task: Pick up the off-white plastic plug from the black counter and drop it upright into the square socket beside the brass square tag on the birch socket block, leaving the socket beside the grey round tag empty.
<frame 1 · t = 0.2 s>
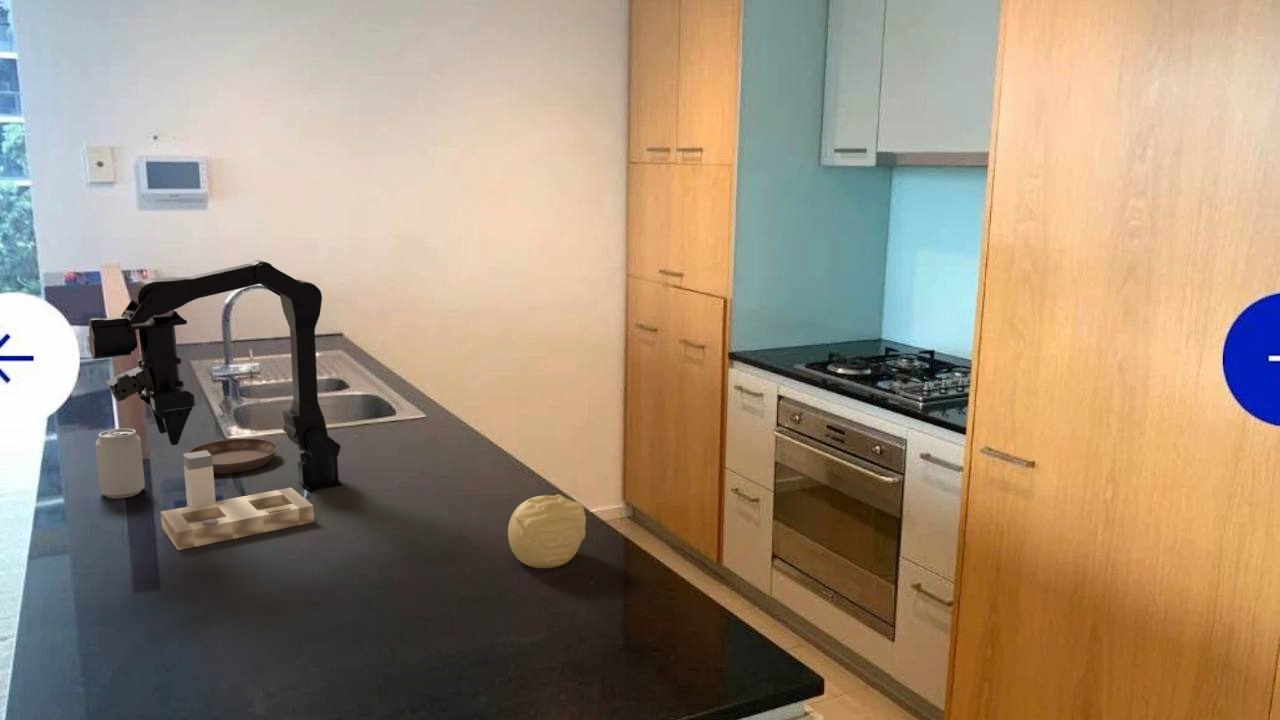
hand: (168, 438, 174), 13 cm above the worktop, fingers open, 9 cm apart
socket block: (238, 525, 170), on the worktop
plant saucer: (233, 464, 205), on the worktop
plug: (201, 507, 179), on the worktop
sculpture: (546, 561, 156), on the worktop
can: (123, 494, 186), on the worktop
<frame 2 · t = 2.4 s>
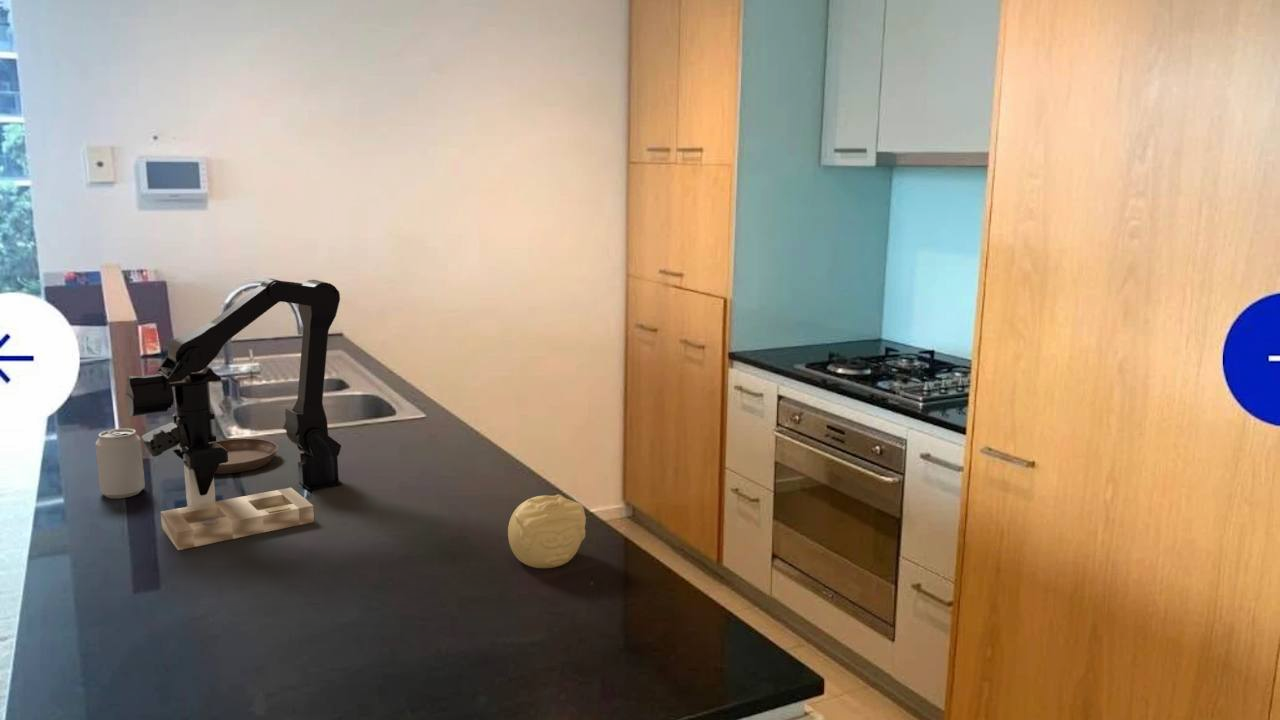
hand: (200, 491, 178), 3 cm above the worktop, fingers closed on plug, 4 cm apart
plug: (201, 507, 179), on the worktop, touching gripper
everything else where it was.
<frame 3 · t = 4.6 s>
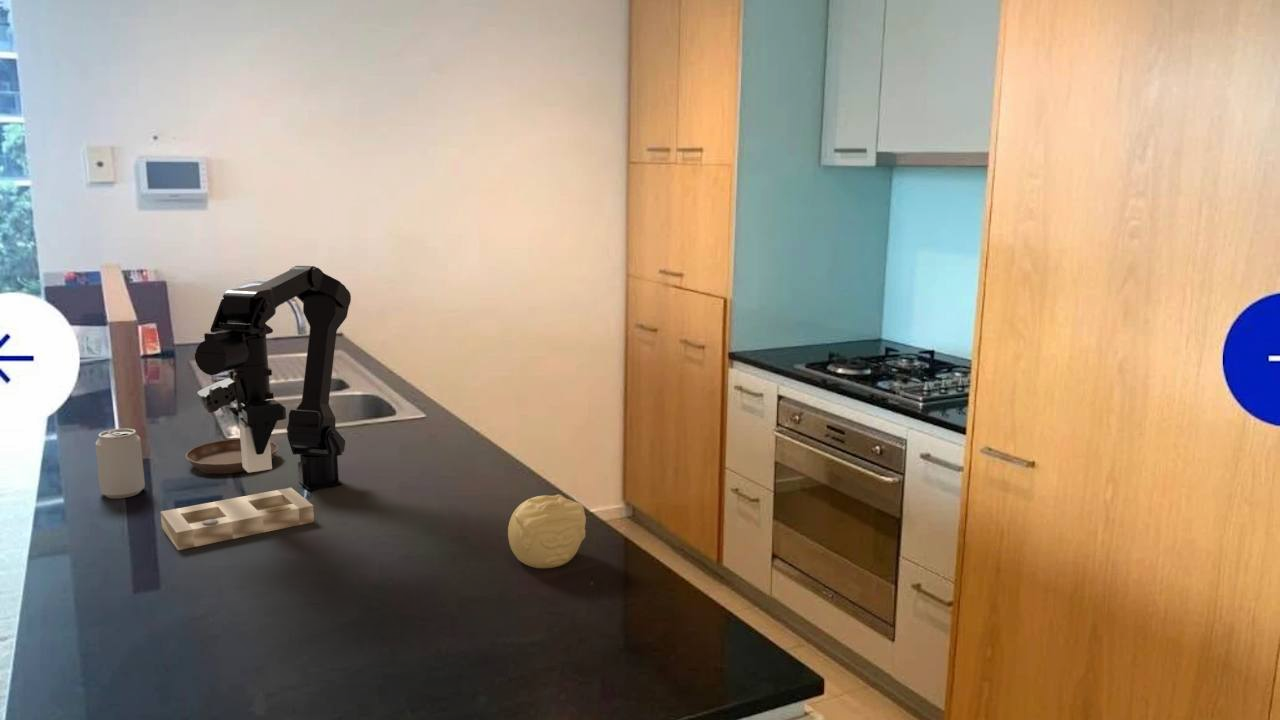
hand: (256, 451, 172), 12 cm above the worktop, fingers closed on plug, 4 cm apart
plug: (257, 467, 172), point 9 cm above the worktop, touching gripper
everything else where it was.
when the fingers open (4 cm above the worktop, at t = 6.9 s): plug drops 1 cm, resting in socket block.
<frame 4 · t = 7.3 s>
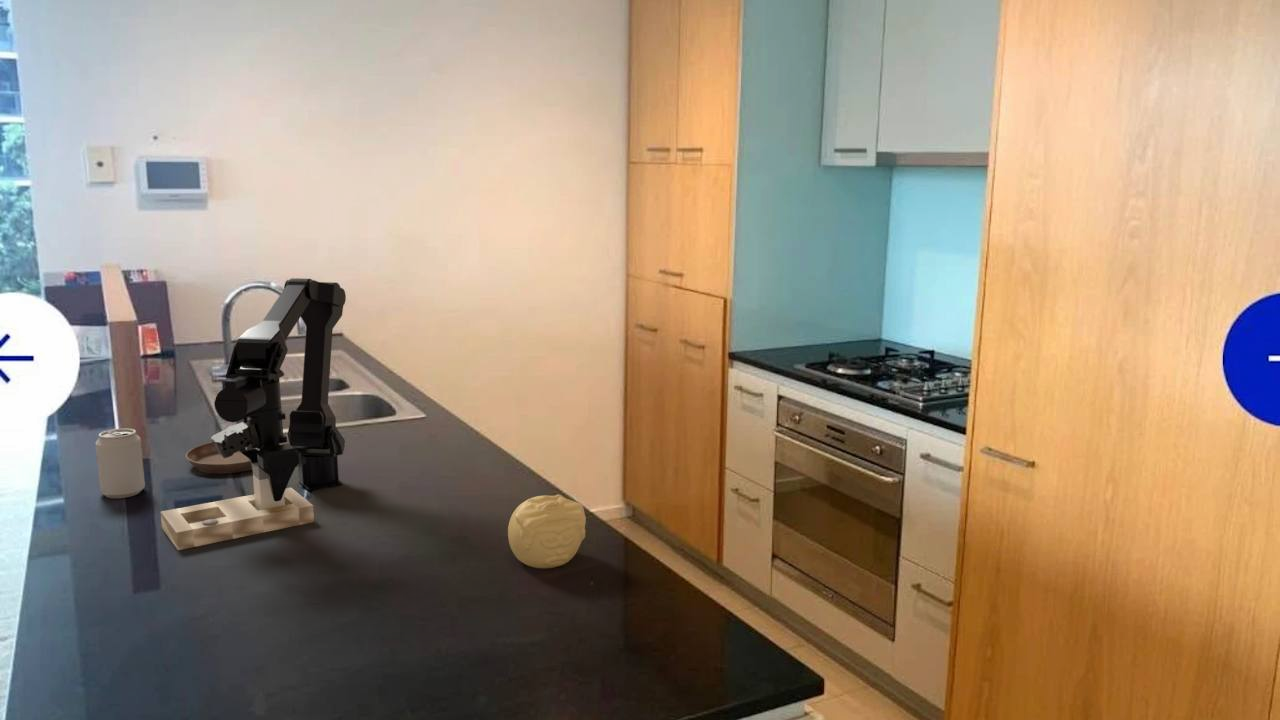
hand: (269, 494, 173), 4 cm above the worktop, fingers open, 8 cm apart
plug: (271, 518, 173), resting in socket block
everything else where it was.
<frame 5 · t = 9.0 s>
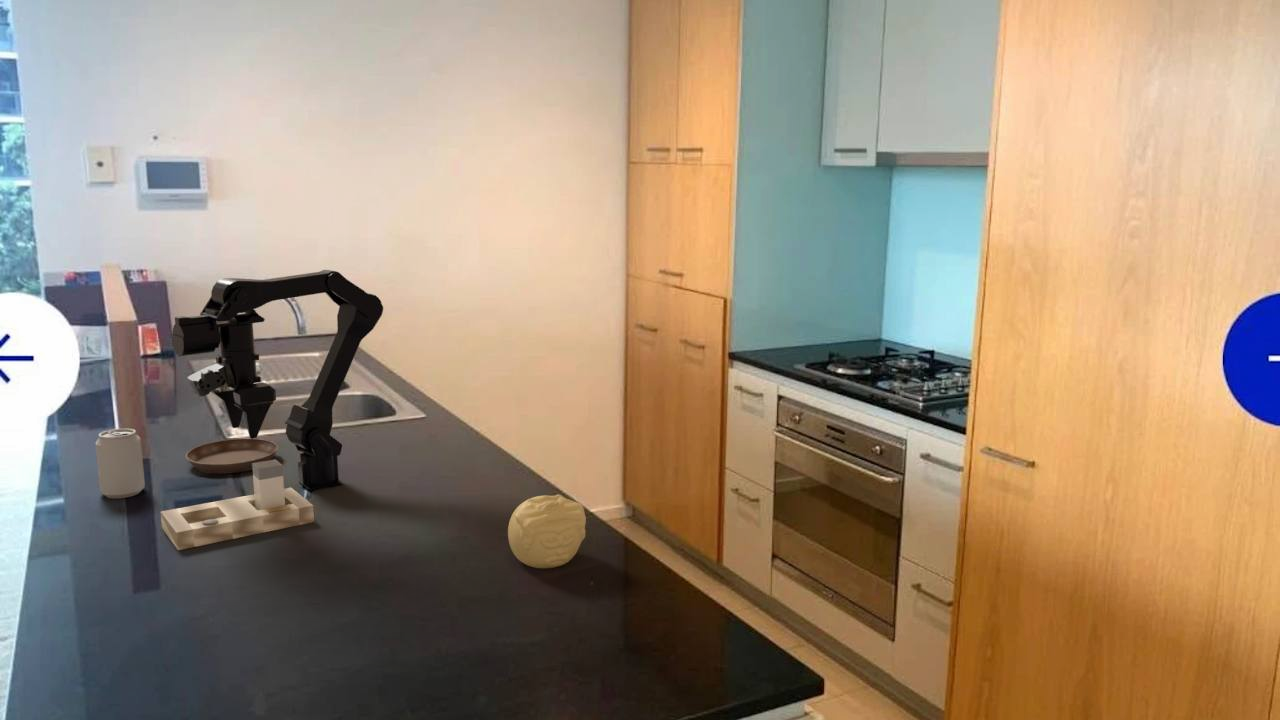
hand: (244, 432, 180), 13 cm above the worktop, fingers open, 9 cm apart
nothing on the worktop moved.
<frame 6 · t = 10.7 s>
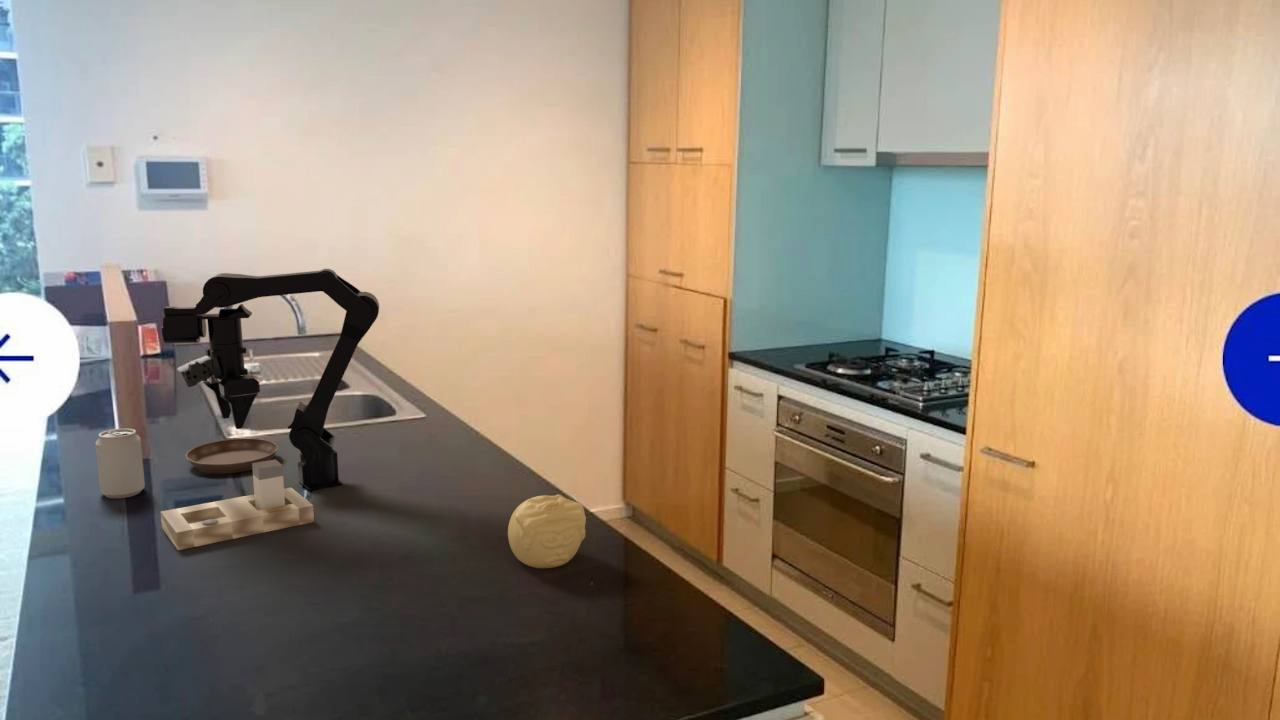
hand: (232, 423, 186), 13 cm above the worktop, fingers open, 9 cm apart
nothing on the worktop moved.
at the end: plug 0.1 cm from the target spot on the socket block, point 0.0 cm above the socket block's base; plug tilted 0°; the gripper is holding nothing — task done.
